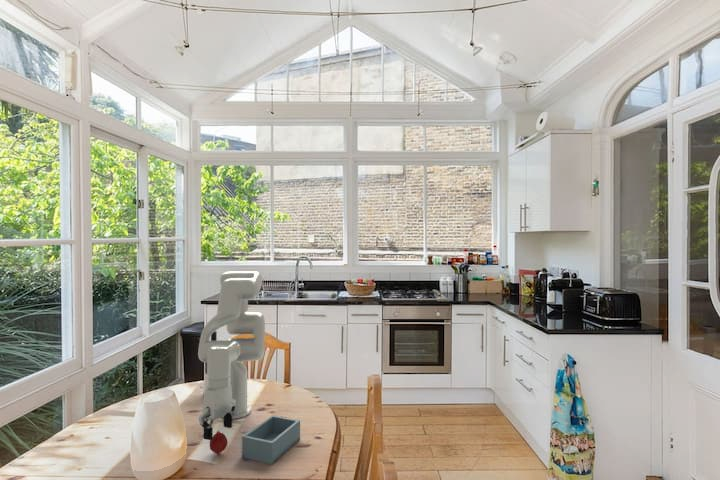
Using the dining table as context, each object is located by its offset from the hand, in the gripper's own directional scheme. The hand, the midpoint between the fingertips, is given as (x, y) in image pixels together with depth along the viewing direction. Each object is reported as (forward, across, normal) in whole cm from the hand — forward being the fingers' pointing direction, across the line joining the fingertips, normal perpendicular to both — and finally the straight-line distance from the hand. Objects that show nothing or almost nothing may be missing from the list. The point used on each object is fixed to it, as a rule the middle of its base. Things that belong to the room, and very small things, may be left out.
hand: (218, 433), depth 136 cm
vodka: (+6, -44, -40) cm, 60 cm away
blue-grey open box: (+7, -11, +14) cm, 19 cm away
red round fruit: (+8, -1, 0) cm, 8 cm away
